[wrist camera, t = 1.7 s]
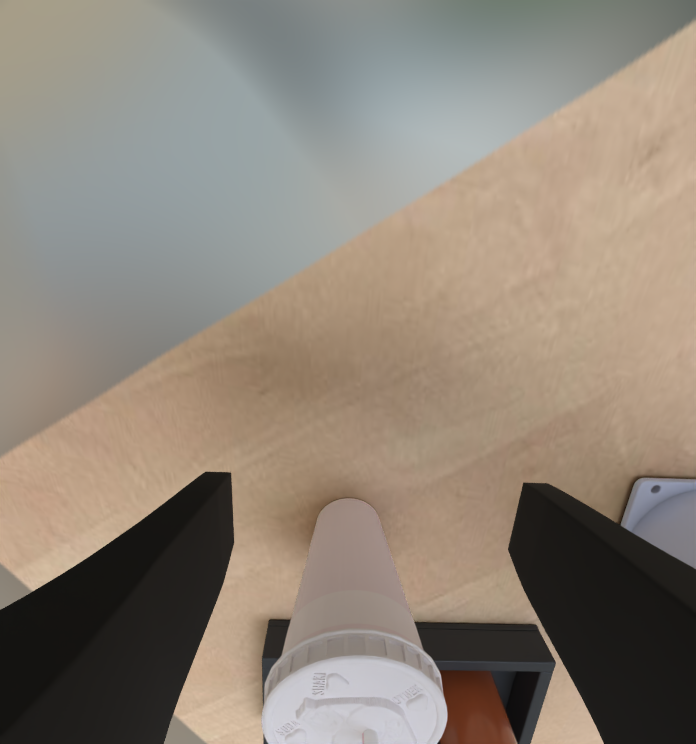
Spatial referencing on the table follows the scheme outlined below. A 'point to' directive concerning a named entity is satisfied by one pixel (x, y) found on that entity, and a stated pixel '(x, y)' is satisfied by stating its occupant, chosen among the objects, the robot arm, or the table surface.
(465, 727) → the spice pot
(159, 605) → the robot arm
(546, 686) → the holder
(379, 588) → the smoothie
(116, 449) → the table surface
